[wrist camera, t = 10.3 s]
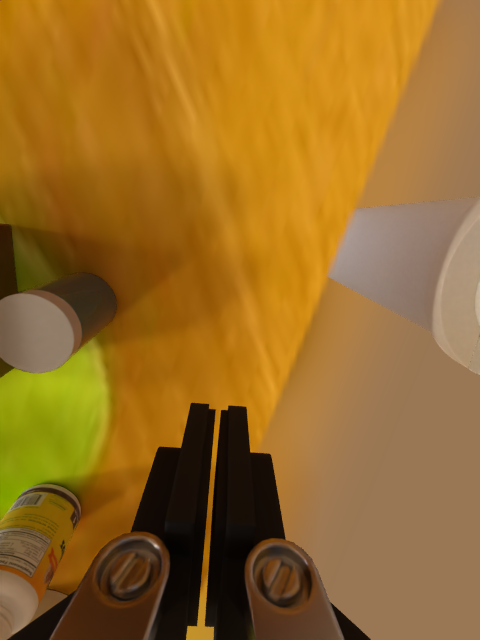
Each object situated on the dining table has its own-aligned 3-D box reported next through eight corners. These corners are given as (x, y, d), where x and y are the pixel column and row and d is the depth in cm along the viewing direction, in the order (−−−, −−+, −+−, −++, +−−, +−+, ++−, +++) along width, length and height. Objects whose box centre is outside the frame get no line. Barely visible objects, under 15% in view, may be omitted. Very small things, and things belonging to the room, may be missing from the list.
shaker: (101, 268, 25) (152, 290, 19) (102, 322, 26) (151, 358, 20) (-31, 271, 19) (-12, 303, 14) (-20, 339, 21) (0, 392, 15)
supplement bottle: (63, 538, 30) (-15, 693, 20) (7, 510, 28) (-106, 661, 19) (96, 499, 29) (30, 644, 19) (39, 469, 27) (-63, 607, 18)
